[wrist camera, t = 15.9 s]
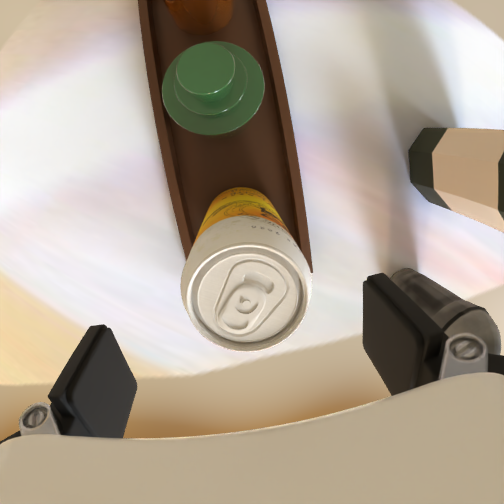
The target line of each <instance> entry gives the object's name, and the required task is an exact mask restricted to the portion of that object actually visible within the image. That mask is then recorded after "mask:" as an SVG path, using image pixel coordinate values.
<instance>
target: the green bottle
mask: <svg viewBox="0 0 504 504" xmlns="http://www.w3.org/2000/svg"><path fill="white" fill-rule="evenodd" d="M264 86H265V83H264V77H263V73H262V70H261V68H260V66H259V64H258V63H257V61H256V60H255V58H254V57H253V56H252V55H251V54H250V53H249V52H247V51H246V50H244V49H243V48H241V47H239V46H237V45H235V44H232V43H228V42H222V41H209V42H203V43H199V44H196V45H194V46H191V47H190V48H188V49H186V50H185V51H183V52H182V53H180V54H179V55H178V56H177V57H176V58H175V59H174V60H173V61H172V63H171V64H170V66H169V67H168V69H167V71H166V73H165V76H164V79H163V84H162V98H163V102H164V105H165V108H166V110H167V112H168V113H169V115H170V116H171V117H172V119H173V120H174V121H175V122H176V123H177V124H179V125H180V126H181V127H183V128H185V129H186V130H188V131H191V132H193V133H196V134H199V135H202V136H205V137H208V138H211V139H216V140H225V139H230V138H233V137H235V136H237V135H239V134H240V133H242V132H243V131H244V130H245V129H246V128H247V127H248V125H249V124H250V122H251V120H252V119H253V117H254V115H255V114H256V112H257V110H258V108H259V106H260V104H261V102H262V99H263V96H264Z"/></svg>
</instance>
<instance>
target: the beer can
mask: <svg viewBox="0 0 504 504" xmlns="http://www.w3.org/2000/svg"><path fill="white" fill-rule="evenodd" d="M311 292H312V277H311V272H310V268H309V266H308V263H307V261H306V259H305V257H304V256H303V254H302V252H301V251H300V249H299V247H298V246H297V244H296V242H295V241H294V239H293V237H292V236H291V234H290V232H289V231H288V229H287V227H286V226H285V224H284V223H283V221H282V219H281V218H280V216H279V215H278V213H277V211H276V210H275V208H274V206H273V205H272V203H271V202H270V201H269V199H268V198H267V197H266V196H265V195H263V194H262V193H260V192H259V191H257V190H254V189H251V188H246V187H237V188H232V189H229V190H226V191H224V192H223V193H221V194H220V195H218V196H217V197H216V198H215V199H214V200H213V202H212V203H211V205H210V207H209V209H208V211H207V213H206V216H205V218H204V220H203V223H202V225H201V227H200V230H199V232H198V235H197V237H196V239H195V242H194V244H193V247H192V249H191V252H190V254H189V256H188V259H187V261H186V264H185V267H184V269H183V272H182V277H181V296H182V300H183V304H184V306H185V309H186V311H187V313H188V314H189V317H190V319H191V321H192V323H193V325H194V326H195V328H196V329H197V330H198V331H199V333H200V334H201V335H203V336H204V337H205V338H206V339H207V340H209V341H210V342H212V343H213V344H215V345H217V346H219V347H222V348H225V349H228V350H232V351H238V352H254V351H260V350H265V349H268V348H271V347H273V346H275V345H277V344H279V343H281V342H283V341H284V340H286V339H287V338H288V337H289V336H291V335H292V334H293V333H294V332H295V331H296V329H297V328H298V327H299V325H300V324H301V322H302V321H303V319H304V317H305V314H306V311H307V308H308V304H309V301H310V297H311Z"/></svg>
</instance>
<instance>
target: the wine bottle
mask: <svg viewBox="0 0 504 504" xmlns="http://www.w3.org/2000/svg"><path fill="white" fill-rule="evenodd" d="M409 163H410V177H411V183H412V184H413V185H414V186H415V187H416V188H417V189H418V191H419V192H420V193H421V194H422V195H423V196H424V197H425V198H426V199H427V200H428V202H431V203H433V204H436V205H439V206H441V207H444V208H446V209H449V210H451V211H454V212H457V213H459V214H461V215H464V216H466V217H469V218H471V219H474V220H476V221H478V222H481V223H483V224H485V225H488V226H490V227H492V228H494V229H497V230H499V231H501V232H503V233H504V130H495V129H474V128H424V129H423V130H422V132H421V133H420V135H419V136H418V138H417V139H416V140H415V142H414V143H413V145H412V146H411V148H410V149H409Z"/></svg>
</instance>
